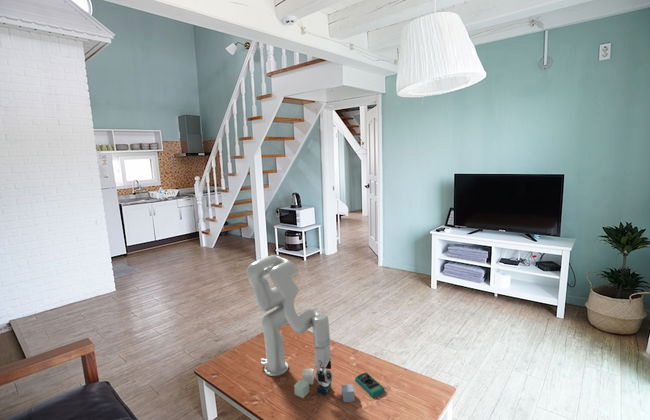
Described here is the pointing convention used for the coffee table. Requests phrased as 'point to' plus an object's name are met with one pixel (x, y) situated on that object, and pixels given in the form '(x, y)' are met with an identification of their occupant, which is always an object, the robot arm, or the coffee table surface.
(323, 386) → the watch
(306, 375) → the cream cube
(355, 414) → the coffee table surface
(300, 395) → the sage cube
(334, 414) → the coffee table surface
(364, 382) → the digital multimeter
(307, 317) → the robot arm
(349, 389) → the slate cube
